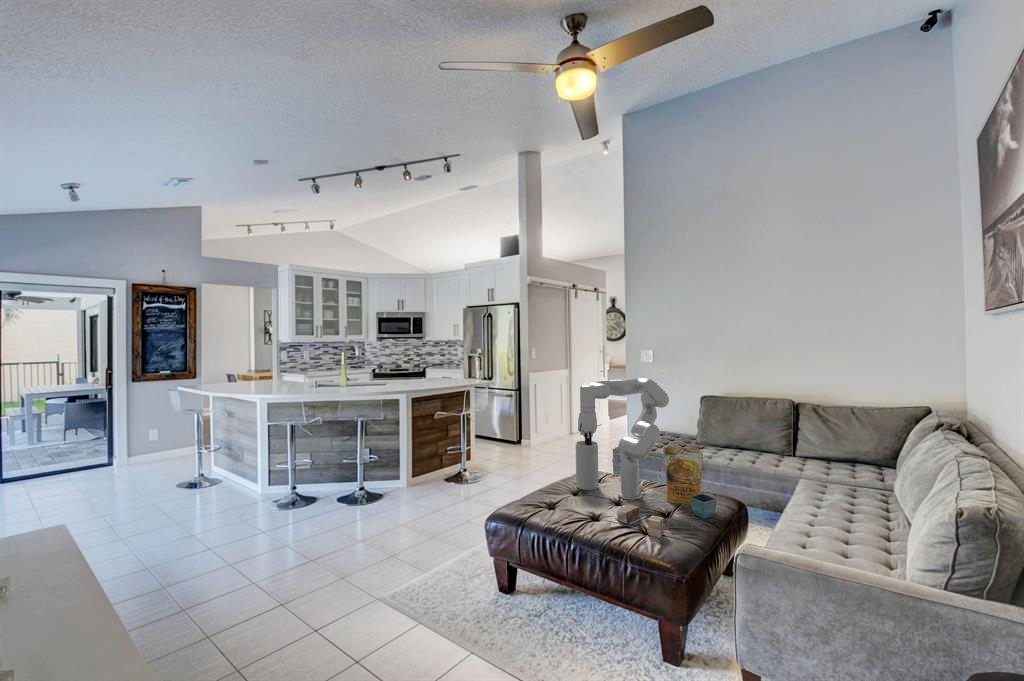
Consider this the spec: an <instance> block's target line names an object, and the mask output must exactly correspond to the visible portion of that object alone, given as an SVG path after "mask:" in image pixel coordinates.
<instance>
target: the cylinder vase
mask: <svg viewBox="0 0 1024 681" xmlns="http://www.w3.org/2000/svg"><path fill="white" fill-rule="evenodd" d="M575 481H576V482H575V483H576V484H575V486H576V487H577V489H579V490H583V491H593V490H597V489H598V488H599V487H600V486H599V483H600V482H599V443H598V441H594V440H592V445H591V446H588V445H585V440H580V441H579V440H578V441H576V442H575Z"/></svg>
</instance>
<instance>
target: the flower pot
mask: <svg viewBox="0 0 1024 681" xmlns="http://www.w3.org/2000/svg"><path fill="white" fill-rule="evenodd" d="M690 501H691V505H690V506H691V509H692V511H693V513H694V515H695V516H696V515H698V516H697V517H699V516H700V517H699V518H701V517H702V518H701V519H703V518H705V519H708V517H709V518H711V517H713V515H714V514H715V511H716V509H717V508H716V507H717V502H718V499H717V498H715V497H714V496H713V497H712V496H710V495H707V494H705V493H700V494H699V495H695V496H691V497H690Z"/></svg>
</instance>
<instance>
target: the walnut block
mask: <svg viewBox="0 0 1024 681" xmlns="http://www.w3.org/2000/svg"><path fill="white" fill-rule="evenodd" d="M616 511H617V515H616V516H617V517H616V518H617V519H618V520H617V519H616V520H617V521H620V522H622V523H625V524H627V523H628V522H630V521H632V520H634V519H636V518H639V514H640V506H638V505H634V504H633V503H632V504H631V503H629V504H627V505H625V506H622V507H620V508H617V510H616Z"/></svg>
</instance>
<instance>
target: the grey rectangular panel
mask: <svg viewBox="0 0 1024 681" xmlns="http://www.w3.org/2000/svg"><path fill="white" fill-rule="evenodd" d="M646 518H647V516H646V515H643V514H641V513H639V518H636V519H634V520H632V521H630V522H628V523H626V524H628V525H633V524H635V523H637V522H640V521H641V520H643V519H646ZM614 519H615V520H617V521H619V520H618V519H617V517H614Z"/></svg>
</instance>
